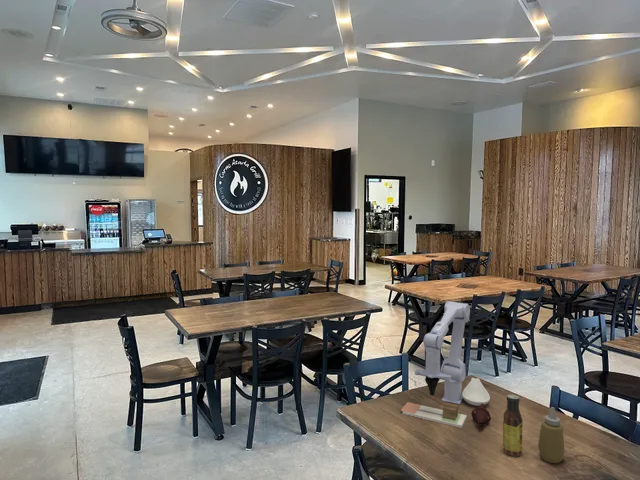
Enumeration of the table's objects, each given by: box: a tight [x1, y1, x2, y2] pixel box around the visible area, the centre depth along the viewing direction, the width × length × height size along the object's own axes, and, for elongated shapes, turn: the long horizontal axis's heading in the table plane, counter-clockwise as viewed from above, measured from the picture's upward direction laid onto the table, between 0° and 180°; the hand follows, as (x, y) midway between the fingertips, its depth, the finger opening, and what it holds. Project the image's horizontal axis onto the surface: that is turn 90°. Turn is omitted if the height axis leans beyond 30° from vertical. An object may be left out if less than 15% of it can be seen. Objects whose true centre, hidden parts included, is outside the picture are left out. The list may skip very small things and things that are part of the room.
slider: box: [442, 402, 459, 420], centre depth 176 cm, size 5×5×4 cm
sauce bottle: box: [502, 394, 524, 457], centre depth 151 cm, size 7×6×20 cm
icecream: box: [471, 404, 492, 426], centre depth 172 cm, size 7×7×15 cm
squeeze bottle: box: [537, 406, 566, 464], centre depth 147 cm, size 8×8×18 cm
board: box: [400, 401, 467, 429], centre depth 179 cm, size 10×25×1 cm, turn 61°
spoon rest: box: [462, 377, 491, 407], centre depth 197 cm, size 24×12×7 cm, turn 162°
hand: (432, 394), depth 179 cm, fingers closed
